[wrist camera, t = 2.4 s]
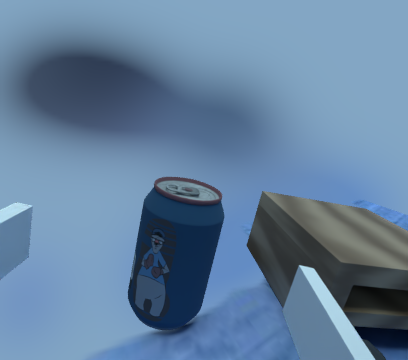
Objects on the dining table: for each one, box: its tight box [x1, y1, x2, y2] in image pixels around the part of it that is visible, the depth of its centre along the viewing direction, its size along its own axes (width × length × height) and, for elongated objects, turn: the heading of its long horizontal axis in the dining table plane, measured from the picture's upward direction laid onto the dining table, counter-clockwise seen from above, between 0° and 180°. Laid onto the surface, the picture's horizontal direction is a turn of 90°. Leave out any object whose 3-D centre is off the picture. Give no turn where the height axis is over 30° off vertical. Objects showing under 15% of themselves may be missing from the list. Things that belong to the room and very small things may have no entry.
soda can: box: [128, 177, 224, 330], centre depth 24 cm, size 7×7×12 cm
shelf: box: [247, 191, 408, 330], centre depth 34 cm, size 18×18×9 cm
